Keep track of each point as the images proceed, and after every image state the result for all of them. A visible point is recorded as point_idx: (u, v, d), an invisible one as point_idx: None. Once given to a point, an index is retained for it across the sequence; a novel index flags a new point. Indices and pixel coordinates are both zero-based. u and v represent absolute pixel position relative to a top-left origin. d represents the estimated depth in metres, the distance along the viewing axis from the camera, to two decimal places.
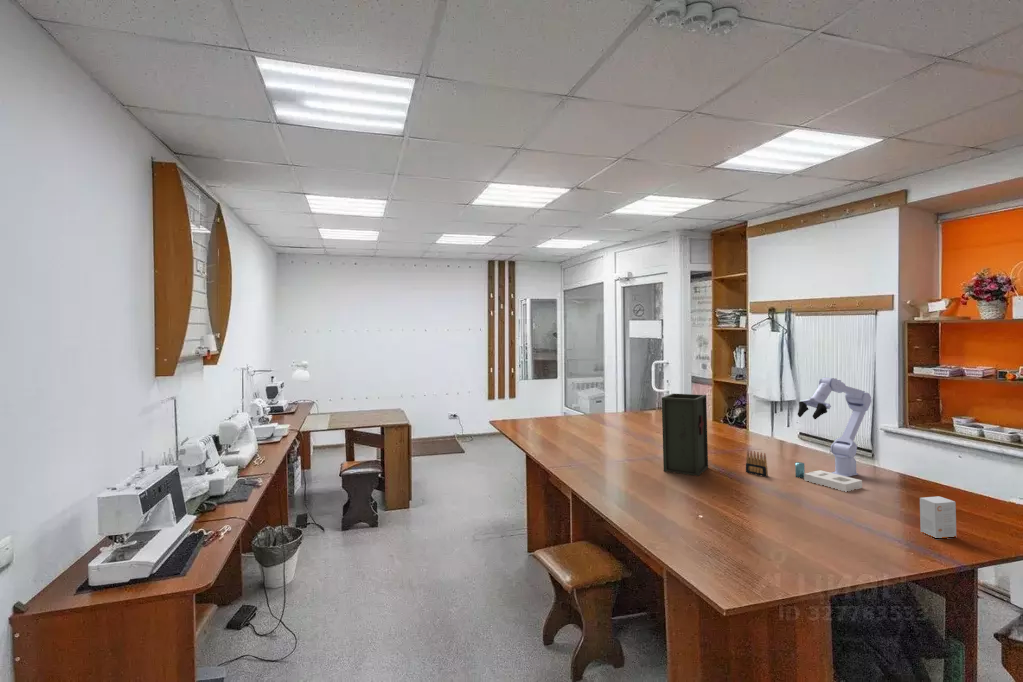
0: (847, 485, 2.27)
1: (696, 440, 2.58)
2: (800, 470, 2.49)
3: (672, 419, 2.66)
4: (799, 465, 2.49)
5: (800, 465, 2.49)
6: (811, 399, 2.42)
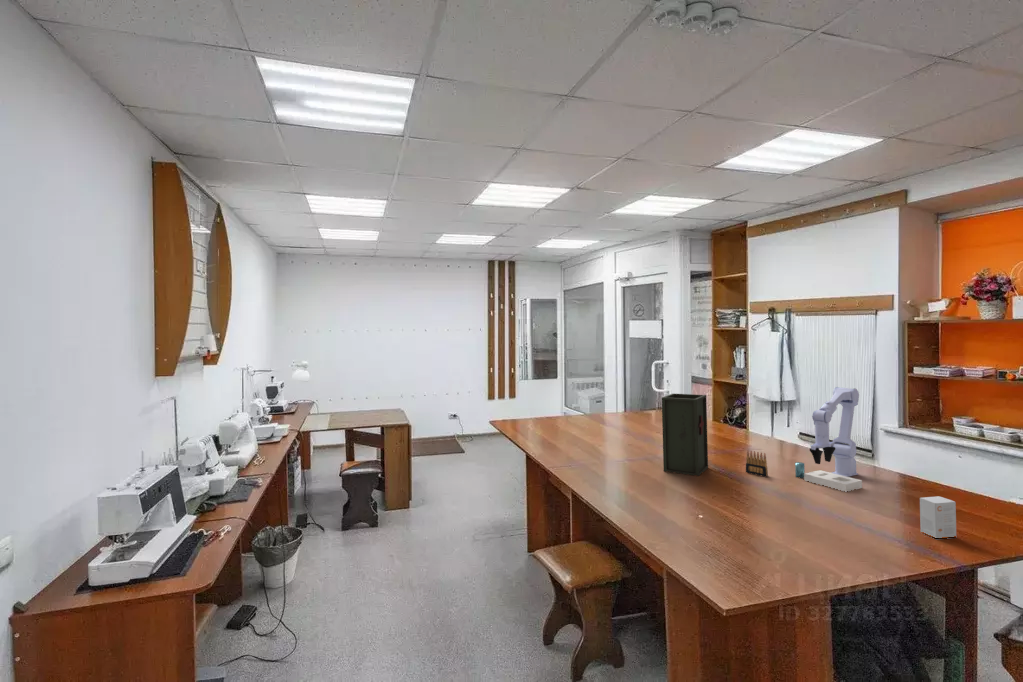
0: (847, 485, 2.27)
1: (696, 440, 2.58)
2: (800, 470, 2.49)
3: (672, 419, 2.66)
4: (799, 465, 2.49)
5: (800, 465, 2.49)
6: (828, 446, 2.39)
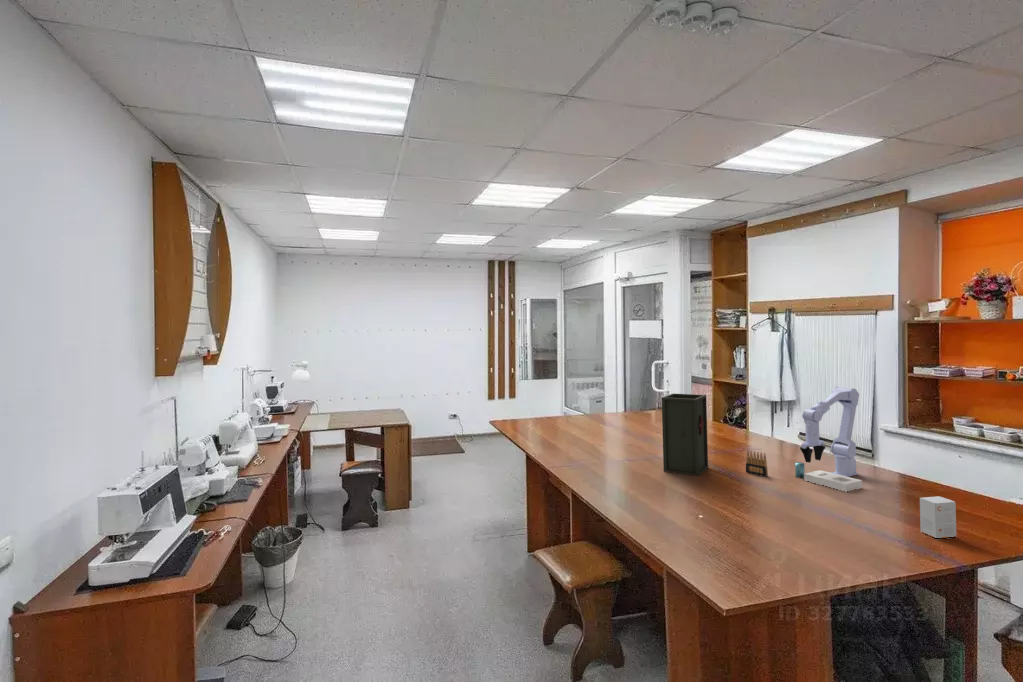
0: (847, 485, 2.27)
1: (696, 440, 2.58)
2: (800, 470, 2.49)
3: (672, 419, 2.66)
4: (799, 465, 2.49)
5: (800, 465, 2.49)
6: None
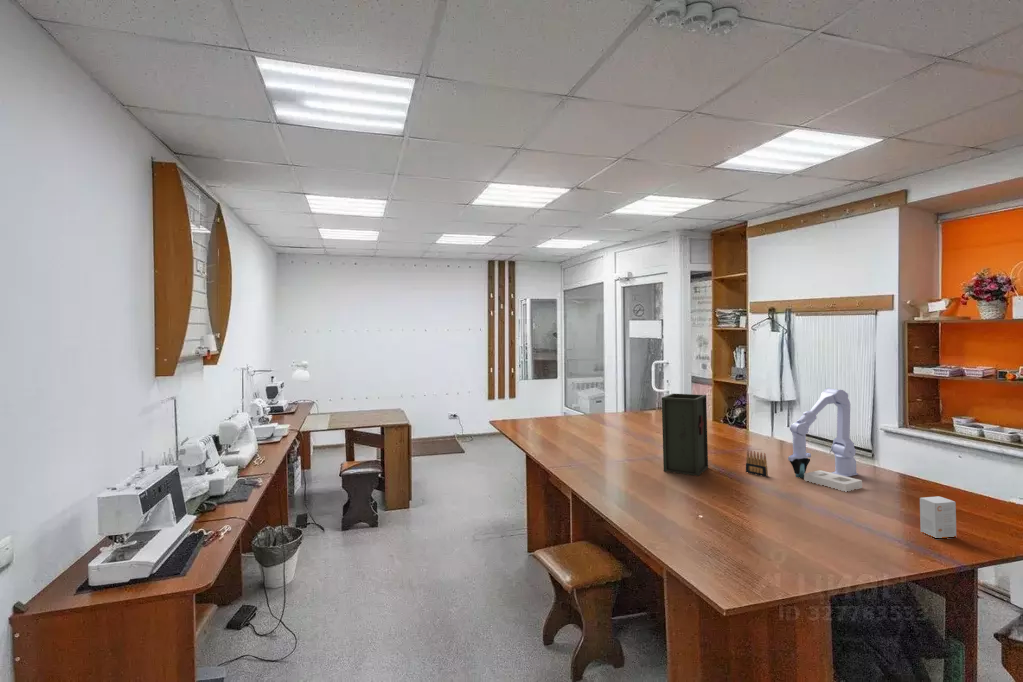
0: (847, 485, 2.27)
1: (696, 440, 2.58)
2: (800, 470, 2.49)
3: (672, 419, 2.66)
4: None
5: None
6: (805, 457, 2.48)
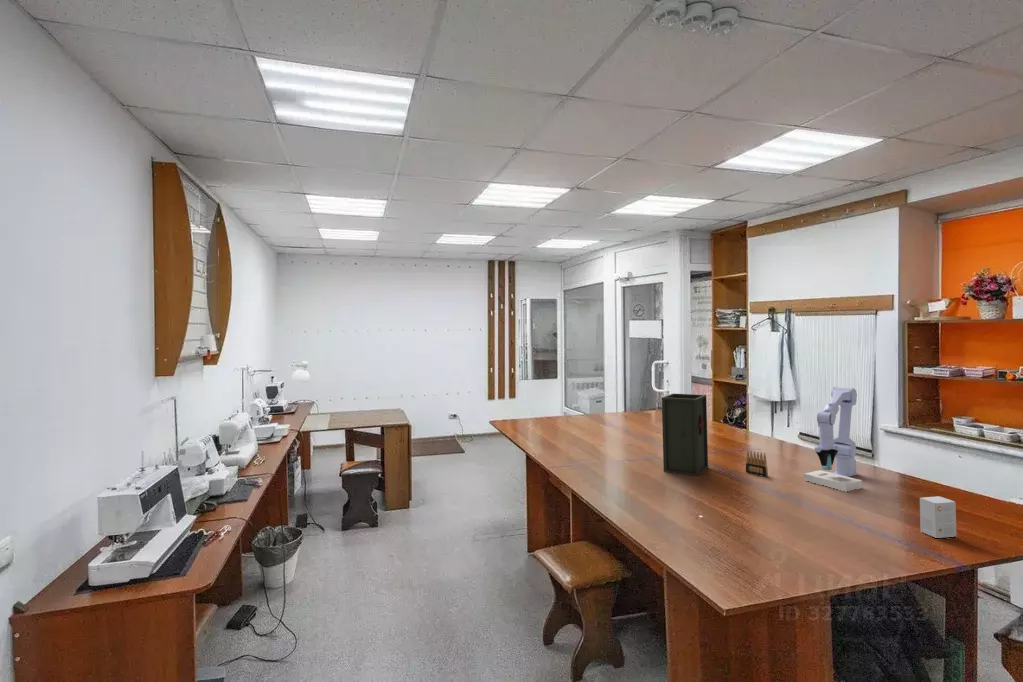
0: (847, 485, 2.27)
1: (696, 440, 2.58)
2: (827, 461, 2.38)
3: (672, 419, 2.66)
4: None
5: None
6: (833, 448, 2.36)
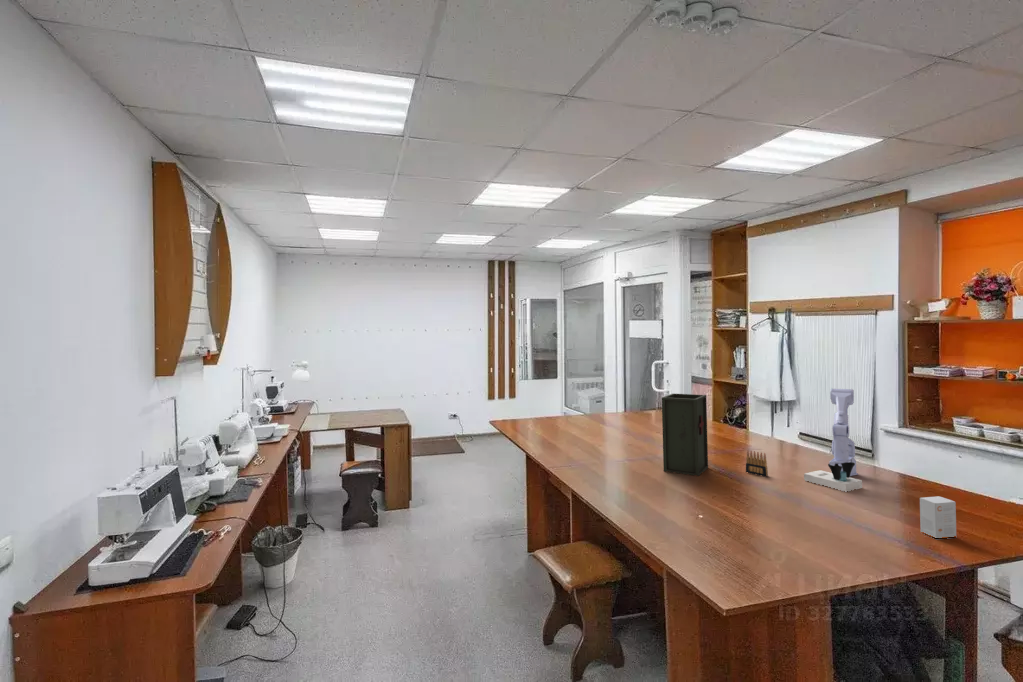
0: (847, 485, 2.27)
1: (696, 440, 2.58)
2: (842, 479, 2.32)
3: (672, 419, 2.66)
4: (840, 473, 2.33)
5: (842, 474, 2.32)
6: (848, 462, 2.31)
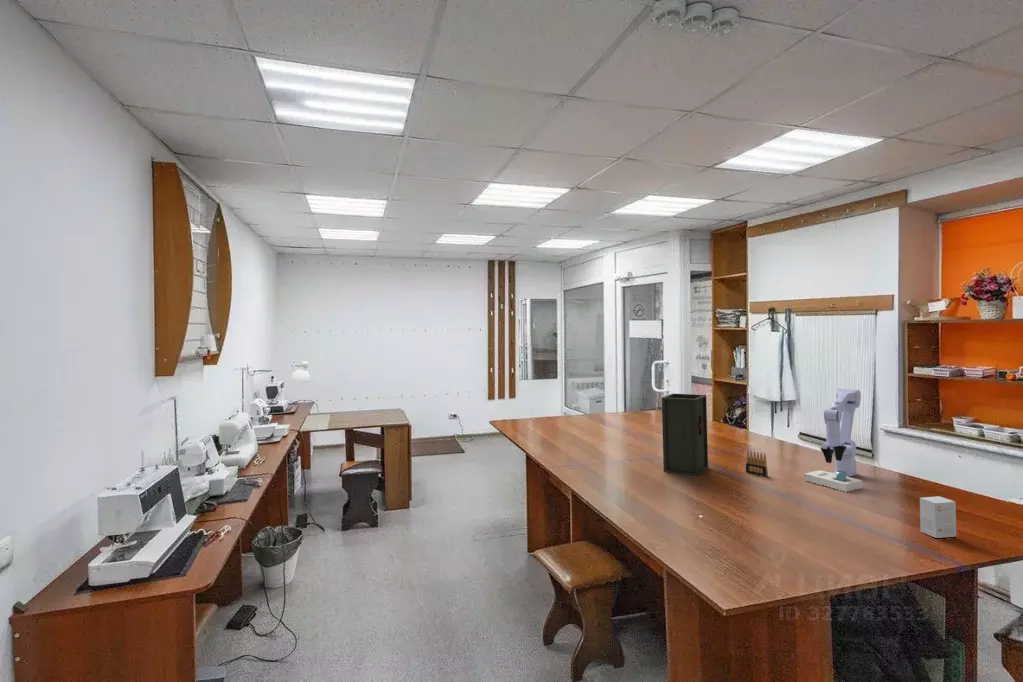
0: (847, 485, 2.27)
1: (696, 440, 2.58)
2: (842, 479, 2.32)
3: (672, 419, 2.66)
4: (840, 474, 2.32)
5: (842, 474, 2.32)
6: (839, 445, 2.40)
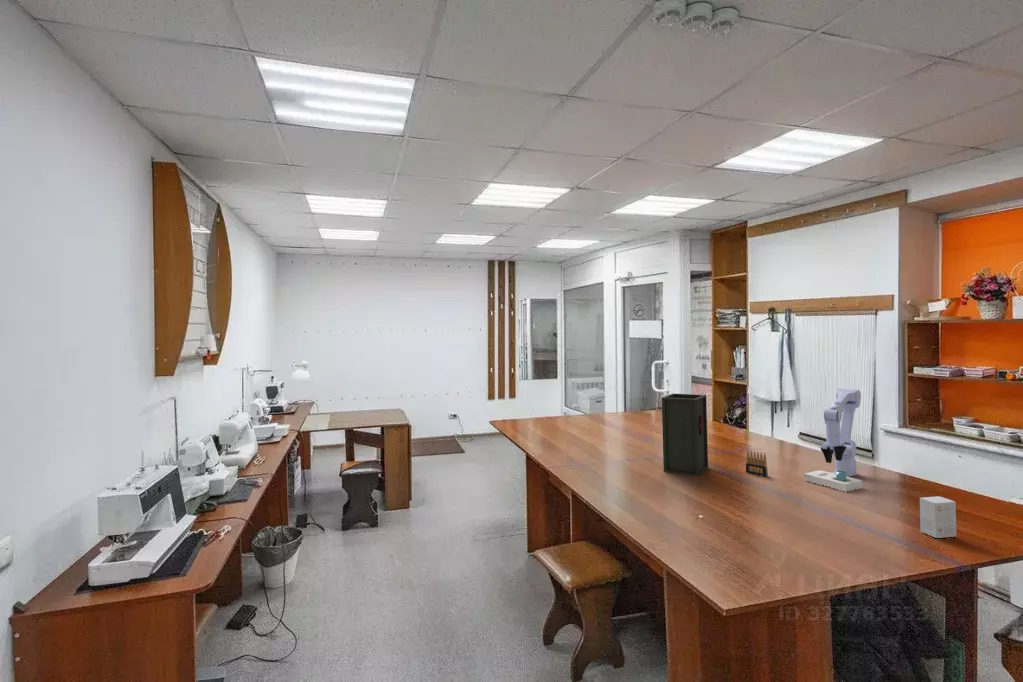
0: (847, 485, 2.27)
1: (696, 440, 2.58)
2: (842, 479, 2.32)
3: (672, 419, 2.66)
4: (840, 474, 2.32)
5: (842, 474, 2.32)
6: (839, 445, 2.40)
